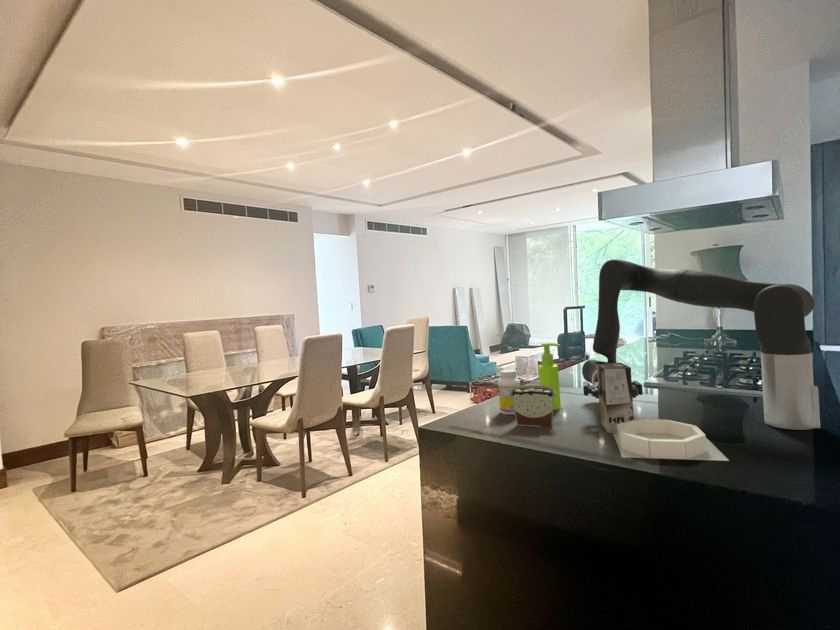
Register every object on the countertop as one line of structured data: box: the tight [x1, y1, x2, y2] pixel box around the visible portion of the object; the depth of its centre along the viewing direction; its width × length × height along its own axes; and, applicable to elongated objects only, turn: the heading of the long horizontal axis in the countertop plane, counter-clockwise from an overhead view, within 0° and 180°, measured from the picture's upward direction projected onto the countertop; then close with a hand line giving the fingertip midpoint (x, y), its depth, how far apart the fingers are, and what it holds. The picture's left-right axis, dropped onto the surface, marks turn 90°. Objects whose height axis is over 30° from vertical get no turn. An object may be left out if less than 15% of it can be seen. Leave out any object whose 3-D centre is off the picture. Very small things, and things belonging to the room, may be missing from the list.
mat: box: [612, 433, 730, 462], centre depth 94 cm, size 19×16×1 cm
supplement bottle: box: [497, 369, 521, 416], centre depth 133 cm, size 7×7×13 cm
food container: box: [510, 384, 556, 428], centre depth 120 cm, size 12×6×10 cm, turn 65°
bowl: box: [617, 418, 707, 460], centre depth 95 cm, size 16×16×4 cm
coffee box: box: [597, 362, 635, 434], centre depth 110 cm, size 9×6×16 cm
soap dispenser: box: [537, 342, 562, 411], centre depth 134 cm, size 6×7×20 cm
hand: (615, 394), depth 108 cm, fingers open, 8 cm apart
